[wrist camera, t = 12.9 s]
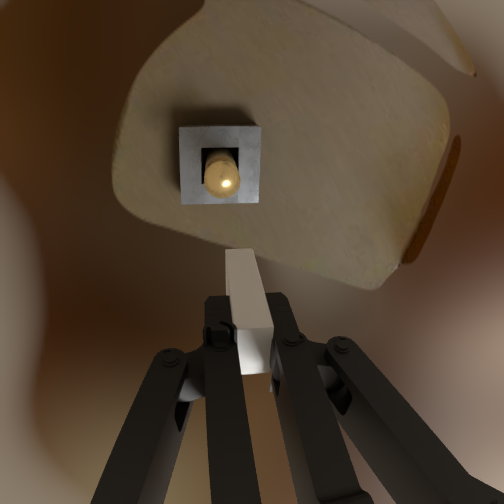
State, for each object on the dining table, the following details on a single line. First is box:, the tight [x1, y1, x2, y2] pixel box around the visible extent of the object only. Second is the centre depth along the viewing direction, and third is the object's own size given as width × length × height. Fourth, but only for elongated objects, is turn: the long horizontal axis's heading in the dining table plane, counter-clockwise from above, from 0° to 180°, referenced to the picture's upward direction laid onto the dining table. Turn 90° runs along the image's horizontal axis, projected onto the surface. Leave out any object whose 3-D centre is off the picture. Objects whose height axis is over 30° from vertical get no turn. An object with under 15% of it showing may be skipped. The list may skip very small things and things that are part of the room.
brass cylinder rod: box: [204, 147, 241, 198], centre depth 43 cm, size 4×4×14 cm
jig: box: [179, 124, 261, 205], centre depth 47 cm, size 12×12×4 cm
